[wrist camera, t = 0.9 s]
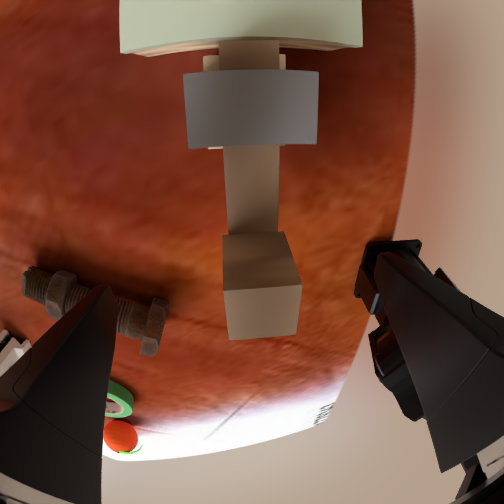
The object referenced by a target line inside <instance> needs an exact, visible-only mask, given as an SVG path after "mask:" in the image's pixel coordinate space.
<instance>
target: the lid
mask: <svg viewBox="0 0 504 504" xmlns="http://www.w3.org/2000/svg"><path fill="white" fill-rule="evenodd" d="M235 39H276V40H295V41H307V42H317V43H326V44H334V45H340V46H347V47H353V48H358V47H363V32H362V4H361V0H120V53H125V54H128V53H132V52H137V51H142V50H147V49H152V48H158V47H164V46H170V45H177V44H185V43H193V42H203V41H216V40H235Z"/></svg>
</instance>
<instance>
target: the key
mask: <svg viewBox="0 0 504 504" xmlns="http://www.w3.org/2000/svg"><path fill="white" fill-rule="evenodd" d="M218 43H219V71H224V70H251V69H273V70H280V65H279V41H278V40H233V41H218ZM279 147H280V144H262V145H237V146H223V156H224V172H225V188H226V204H227V218H228V232H229V235H223V292H224V301H225V310H226V318H227V326H228V334H229V340H240V339H253V338H265V337H275V336H285V335H294V334H296V330H297V323H298V315H299V308H300V300H301V292H302V282H301V279H300V276H299V273H298V270H297V268H296V265H295V262H294V259H293V256H292V253H291V250H290V248H289V245H288V242H287V239H286V236H285V234H284V231H283V232H278V204H279Z"/></svg>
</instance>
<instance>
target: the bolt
mask: <svg viewBox="0 0 504 504" xmlns="http://www.w3.org/2000/svg"><path fill="white" fill-rule="evenodd" d="M92 290H93V289H92ZM90 291H91V289H90V288H87V287H84V286H81V285H79V284H78V280H77V277H76V275H75V274H73V273H70V272H68V271H65V270H60V271H57V272H56V273H55V274H54V275H53V274H50V273H48V272H45V271H44V270H42V269H39V268H37V267H35V266H32V267H28V271H25V272H24V273H23V276H22V293H23V295H24V296H26V297H28V298H30V299H33V300H34V301H36V302H39V303H41V304H44V305H45V308H46V311H47V313H48V315H49V317H51V318H53V319H55V320H59V319H60V318H61V317H63V316H64V315H65V314H66V313H67V312H68V311H69V310H70V309H71V308H72V307H73V306H75V305H76V304H77V303H78V302H79V301H80V300H81V299H82V298H84V297H85V296H86V295H87V294H88V293H89V292H90ZM115 298H116V297H115ZM116 300H117V302H118V318H117V328H116V331H117V332H118V333H121V334H123V335H125V336H126V337H129V338H132V339H136V340H139V341H142V345H141V350H140V354H142V355H145V356H149V357H153V356H154V355H155V354H157V351H158V348H159V344H160V340H161V336H162V332H163V328H164V324H165V320H166V315H167V310H168V305H169V303H168V302H167V301H166V300H164V299H160V298H157V297H154V298H153V301H152V304H151V307H148V306H145V305H142V304H139V303H132V302H130V303H129V301H127V302H126V301H125V300H124V301H122V299H120V300H119V298H117V299H116Z"/></svg>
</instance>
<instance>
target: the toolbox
mask: <svg viewBox="0 0 504 504" xmlns="http://www.w3.org/2000/svg"><path fill="white" fill-rule="evenodd" d="M235 40H276V39H235ZM218 41H233V40H216V41H203V42H193V43H185V44H177V45H170V46H164V47H158V48H152V49H147V50H142V51H137V52H132V53H134V54H138V55H143V56H147V57H150V56H156V55H162V54H168V53H175V52H183V51H191V50H201V49H213V48H219V43H218ZM278 41H279V47H285V48H301V49H313V50H322V51H331V50H337V49H342V48H348V47H347V46H340V45H334V44H326V43H317V42H307V41H295V40H278ZM203 63H204V72H198V73H189V74H183V80H184V96H185V110H186V123H187V134H188V145H189V149H196V148H208V149H220V148H223V146H237V145H262V144H280V146H285V144H317V122H318V88H319V72H314V71H300V70H286V57H285V54H279V65H280V70H273V69H251V70H224V71H219V55H213V56H203Z"/></svg>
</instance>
